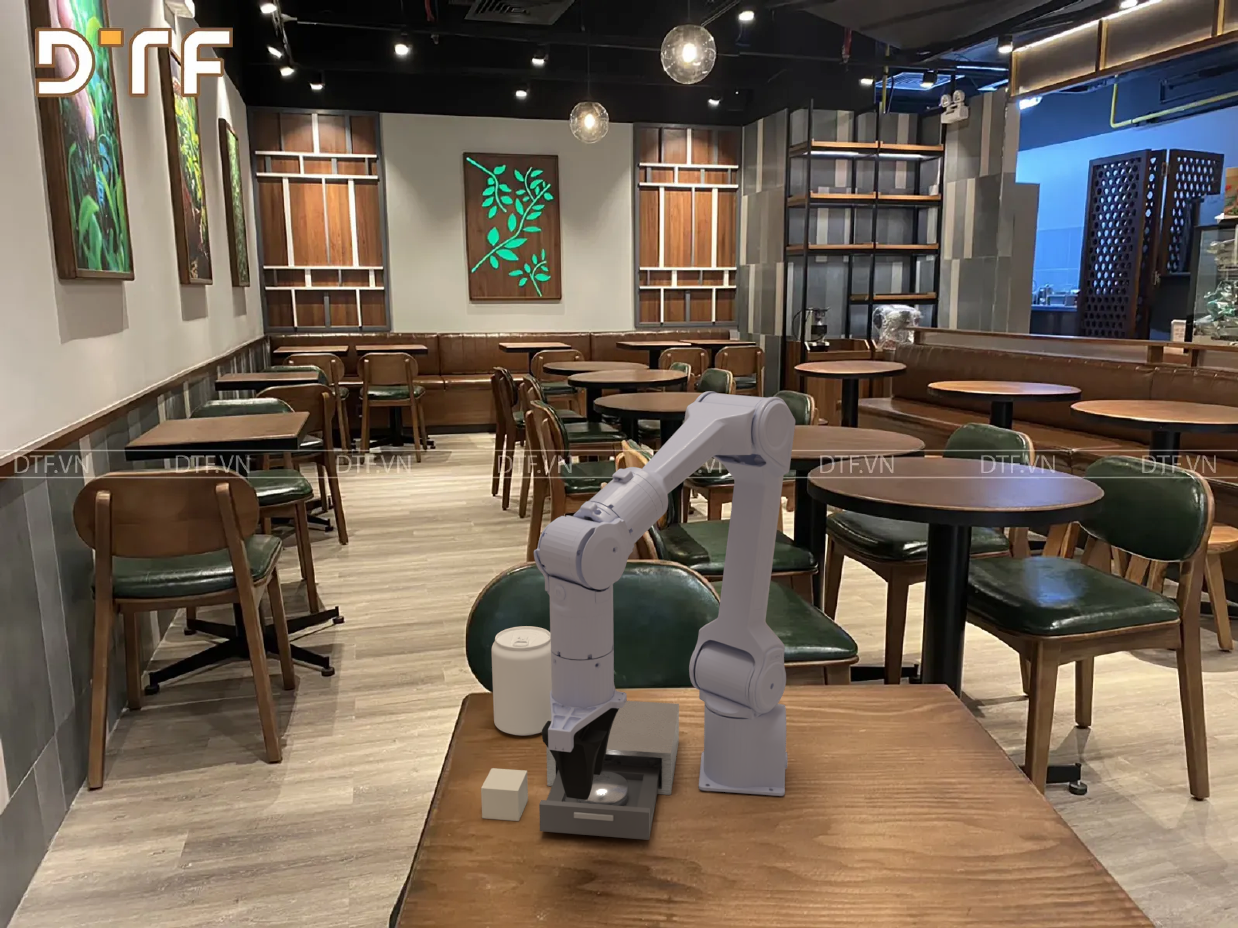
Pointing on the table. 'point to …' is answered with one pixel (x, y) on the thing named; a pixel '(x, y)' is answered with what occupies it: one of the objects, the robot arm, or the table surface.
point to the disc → (608, 790)
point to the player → (640, 740)
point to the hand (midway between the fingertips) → (584, 784)
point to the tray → (605, 807)
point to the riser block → (504, 794)
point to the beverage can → (522, 680)
